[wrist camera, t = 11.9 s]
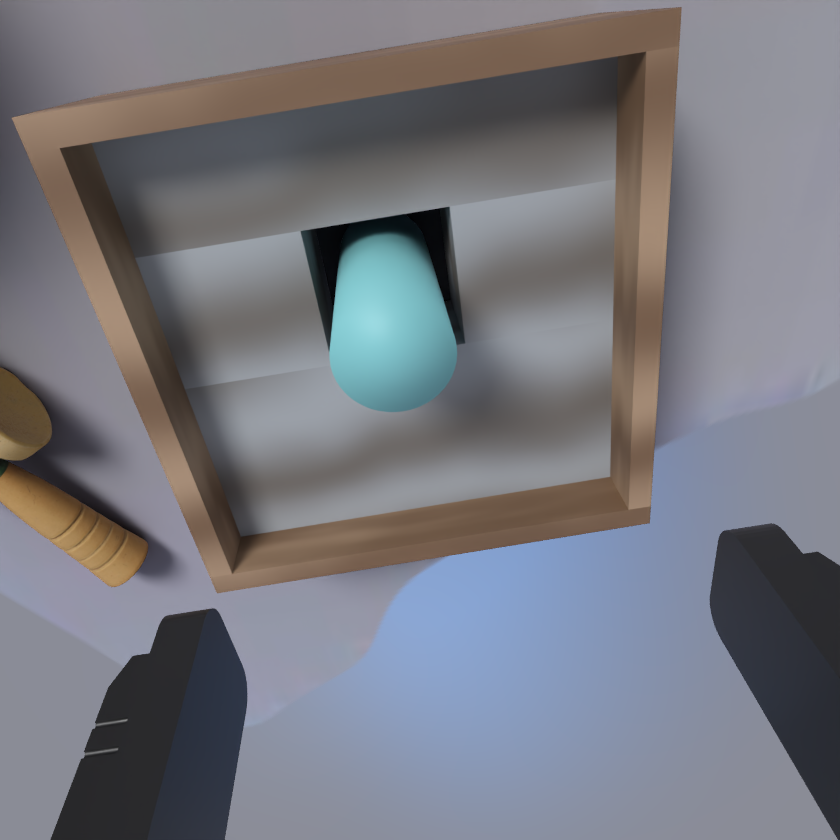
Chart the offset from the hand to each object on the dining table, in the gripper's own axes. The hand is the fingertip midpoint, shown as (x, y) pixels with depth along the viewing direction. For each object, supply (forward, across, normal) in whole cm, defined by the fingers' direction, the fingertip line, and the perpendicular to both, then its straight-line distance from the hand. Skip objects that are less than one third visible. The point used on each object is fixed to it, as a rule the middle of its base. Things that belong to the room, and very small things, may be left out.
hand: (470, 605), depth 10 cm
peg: (+22, +1, +1) cm, 22 cm away
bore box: (+22, +1, +3) cm, 22 cm away
